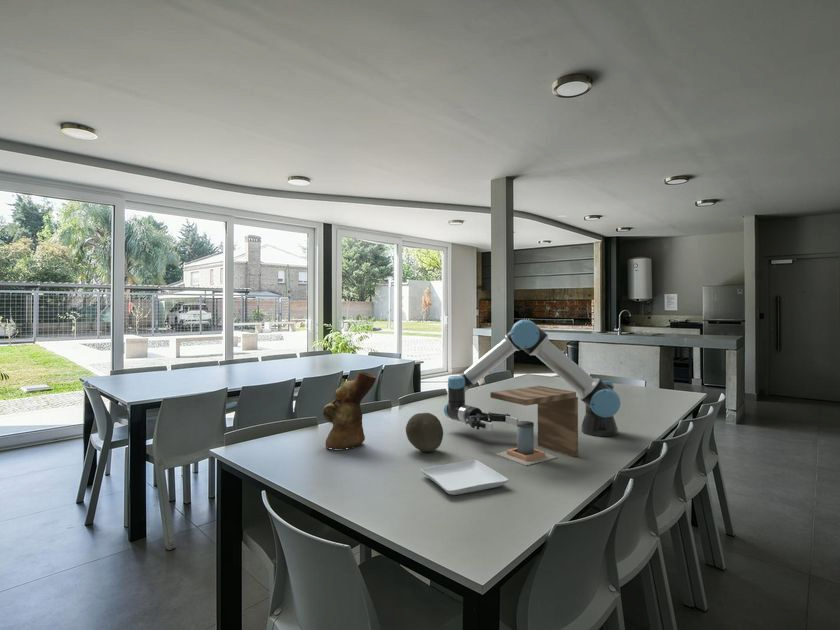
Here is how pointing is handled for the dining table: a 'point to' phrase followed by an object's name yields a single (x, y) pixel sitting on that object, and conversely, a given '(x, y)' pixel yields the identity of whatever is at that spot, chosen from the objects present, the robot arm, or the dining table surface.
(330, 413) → the ceramic vessel
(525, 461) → the seat collar
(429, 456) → the dining table surface
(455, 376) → the robot arm
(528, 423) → the canister
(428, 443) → the cantaloupe
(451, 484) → the salad plate
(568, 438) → the shelf
